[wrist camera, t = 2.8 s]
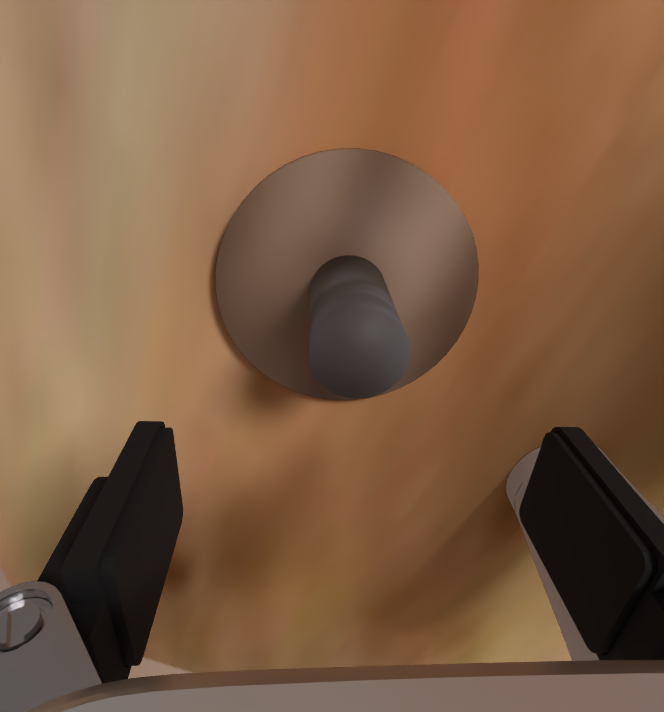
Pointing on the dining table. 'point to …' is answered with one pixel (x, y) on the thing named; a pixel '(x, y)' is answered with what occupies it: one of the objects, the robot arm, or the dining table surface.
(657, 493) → the dining table surface
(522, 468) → the cup
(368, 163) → the lid
